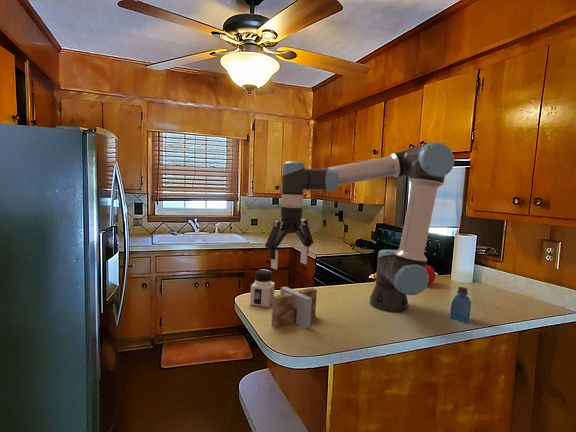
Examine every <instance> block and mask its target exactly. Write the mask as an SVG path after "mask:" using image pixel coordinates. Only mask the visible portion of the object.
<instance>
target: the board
mask: <svg viewBox="0 0 576 432" xmlns="http://www.w3.org/2000/svg"><path fill="white" fill-rule="evenodd" d="M298 292H299V293H301V294H304V295H306V296H308V297H310V298H312V305H311V318H314V317H316V310H317V309H316V308H317V307H316V306H317V294H318V290H317V289H316V288H314V287H309V288H306V289H300V290H298ZM292 305H293V295H292V294H290V293H286V294H282V295H280V294H279V295H274V296H273V302H272V309H271V311H272V312H271V313H272V314H271V326H272V327H274V328H279V327H283V326H286V325H289V324H293V323H296V316H297V309H296V308H294V307H292Z"/></svg>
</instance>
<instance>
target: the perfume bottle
mask: <svg viewBox="0 0 576 432" xmlns="http://www.w3.org/2000/svg"><path fill="white" fill-rule="evenodd" d="M468 294H469V292H468V288H466V287H462V286H460V287H458V290H457V294H456V295H455V296H454V298H453V299H452V302H450V303H451V304H450V313H449V320H450V319H452V320H451V321H454V320H457V321H456V322H458V321H460V322H459V323H462V322H464V323H463V324H466V323H468V324H469V321H470V316H471V308H472V302H471V299H470V296H468Z"/></svg>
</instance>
